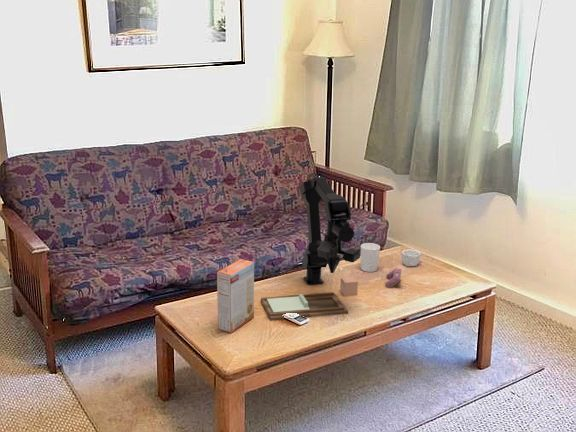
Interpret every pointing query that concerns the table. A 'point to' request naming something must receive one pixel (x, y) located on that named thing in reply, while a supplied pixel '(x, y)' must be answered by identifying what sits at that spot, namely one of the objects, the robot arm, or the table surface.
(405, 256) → the teacup
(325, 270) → the table surface
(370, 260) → the white cup
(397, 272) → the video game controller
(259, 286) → the table surface
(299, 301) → the lid
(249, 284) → the cracker box
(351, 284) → the block
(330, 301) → the board
